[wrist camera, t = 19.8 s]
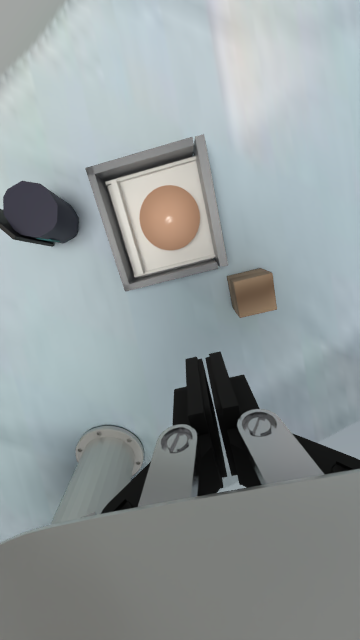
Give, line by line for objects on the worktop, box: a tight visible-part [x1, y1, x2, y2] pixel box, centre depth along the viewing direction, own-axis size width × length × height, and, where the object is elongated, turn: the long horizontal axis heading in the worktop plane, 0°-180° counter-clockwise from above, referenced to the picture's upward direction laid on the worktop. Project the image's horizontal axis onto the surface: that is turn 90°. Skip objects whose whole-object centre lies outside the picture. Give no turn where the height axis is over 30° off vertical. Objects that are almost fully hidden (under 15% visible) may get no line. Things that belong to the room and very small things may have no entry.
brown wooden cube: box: [227, 268, 277, 318], centre depth 35 cm, size 5×5×5 cm
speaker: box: [0, 181, 78, 247], centre depth 30 cm, size 8×6×10 cm
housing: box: [85, 137, 218, 291], centre depth 33 cm, size 12×15×5 cm
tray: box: [105, 134, 228, 277], centre depth 32 cm, size 13×14×5 cm
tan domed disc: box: [139, 185, 200, 250], centre depth 32 cm, size 8×8×2 cm
